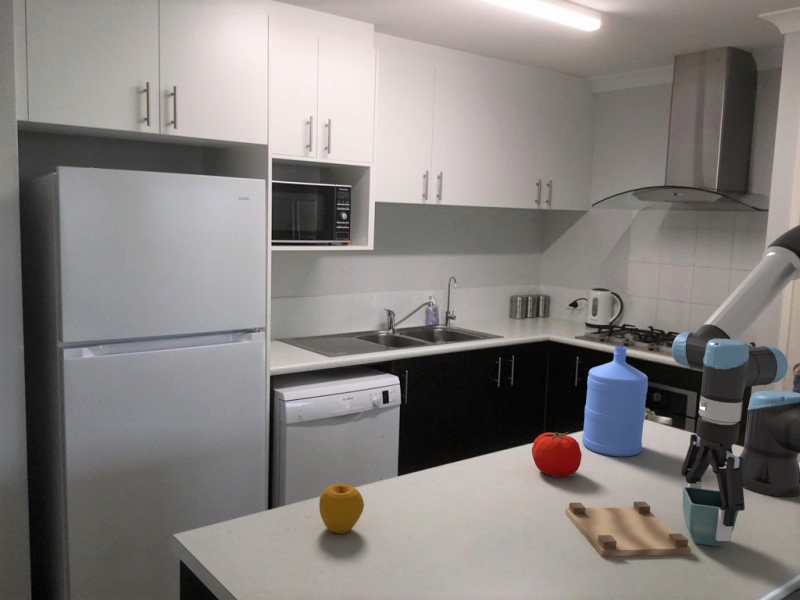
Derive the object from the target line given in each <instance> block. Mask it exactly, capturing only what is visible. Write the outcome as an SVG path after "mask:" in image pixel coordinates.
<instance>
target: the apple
mask: <svg viewBox="0 0 800 600" xmlns="http://www.w3.org/2000/svg"><path fill="white" fill-rule="evenodd" d="M364 507H365V504H364V499H363V496H362V494H361V492H360V491H359V490H358V489H357V487H356V488H355V487H354V486H352V485H350V484H349V485H348V484H344V483H334V484H331V485H329V486H327V487H326V488H325V489H324V490H323V491H322V492H321V495H320V496H319V509H318V510H319V513H320V517H321V520H322V522H323V524H324V526H325V528H327V529H328V531H330V532H332V533H333V534H334V533H335V534H340V535H341V534H342V535H343V534H346V533H348V532H350V530H351V531H352V529H353V528H354V527H355V525H356V524H357V522H358V521H359V519H360V518H361V515H362V514H363V512H364Z"/></svg>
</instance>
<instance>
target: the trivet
mask: <svg viewBox="0 0 800 600" xmlns="http://www.w3.org/2000/svg"><path fill="white" fill-rule="evenodd" d="M565 515H566V517H567V518H568V519H569V520H570V521H571V522H572V523H573V525H574V526H575V527H576V528H577V530H578V531H579V532H580V533H581V534H582V536H584V538H585V539H586V540H587V542H588V543H589V544H590V545H591V546H592V547H593V548H594V550H595V551H596V552H597V553H598V554H599V556H600V557H601V558H602V557H630V556H631V557H632V556H634V557H635V556H665V555H667V556H670V555H671V556H672V555H675V556H676V555H691V553H692V547H691V546H690V545H689V538H687V537H686V536H685V535H683V533H680V532H679V533H675V532H674V531H673V530H671V529H670V528H669V526H667V525H666V524H665V523H664V522H662V520H661V519H659V518H658V517H657V516H656V515H655V514H653V513H652V512H651V505H649V504H648V503H647V502H646V501H633V506H632V507H585V505H583V503H582V502H569V504H568V508H565Z"/></svg>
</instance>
